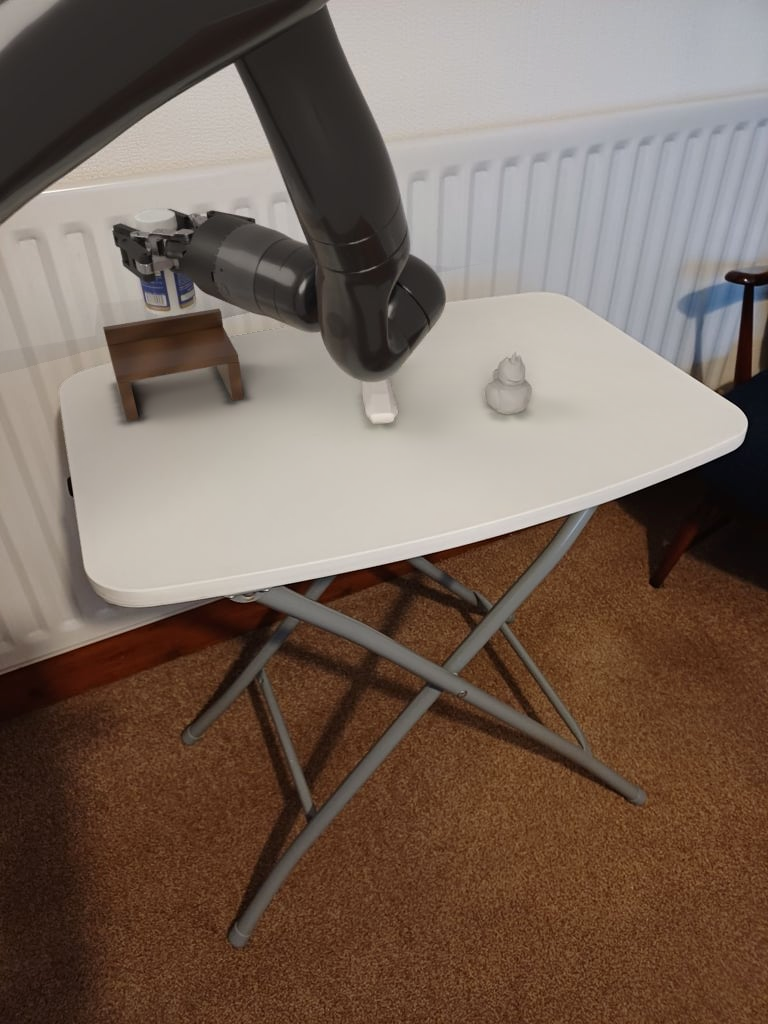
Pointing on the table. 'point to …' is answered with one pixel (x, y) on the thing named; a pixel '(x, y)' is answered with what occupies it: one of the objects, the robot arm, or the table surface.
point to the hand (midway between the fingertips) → (142, 226)
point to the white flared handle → (379, 401)
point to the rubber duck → (509, 387)
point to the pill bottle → (165, 272)
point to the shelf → (171, 351)
